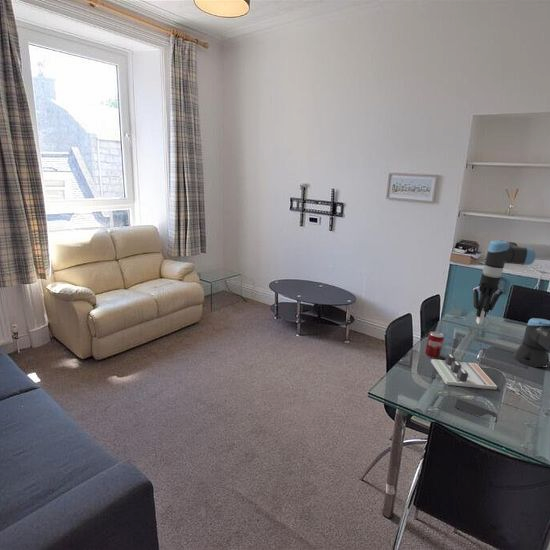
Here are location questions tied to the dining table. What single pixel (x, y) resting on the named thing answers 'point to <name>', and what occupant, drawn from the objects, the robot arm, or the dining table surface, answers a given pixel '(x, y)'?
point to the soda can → (434, 344)
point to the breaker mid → (455, 367)
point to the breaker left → (449, 359)
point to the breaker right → (462, 375)
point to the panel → (473, 380)
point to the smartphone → (472, 408)
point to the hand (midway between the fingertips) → (478, 323)
